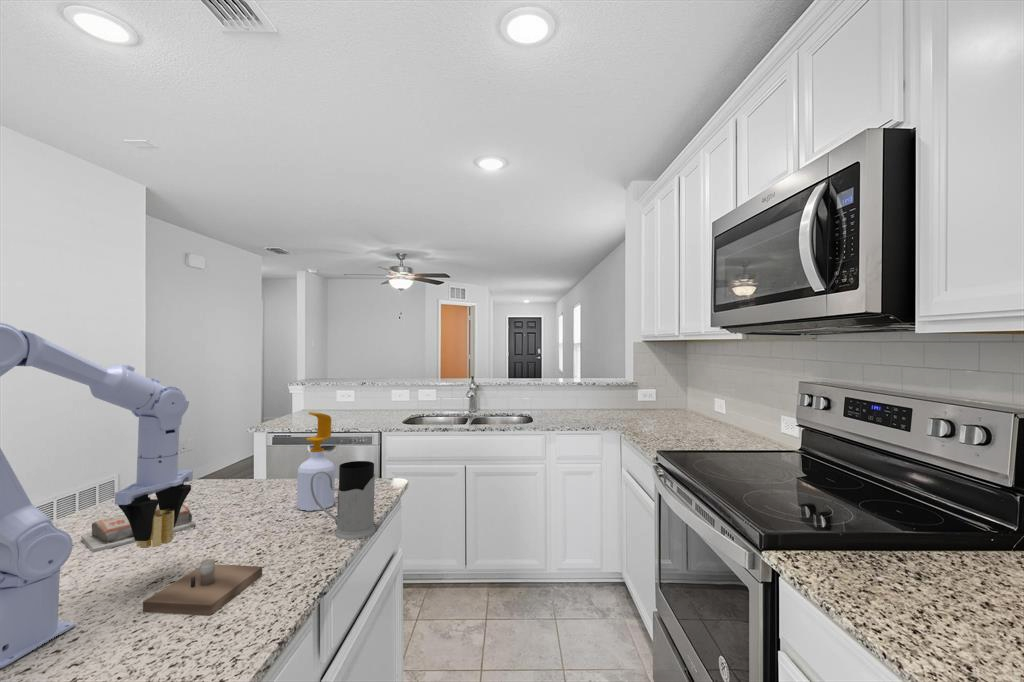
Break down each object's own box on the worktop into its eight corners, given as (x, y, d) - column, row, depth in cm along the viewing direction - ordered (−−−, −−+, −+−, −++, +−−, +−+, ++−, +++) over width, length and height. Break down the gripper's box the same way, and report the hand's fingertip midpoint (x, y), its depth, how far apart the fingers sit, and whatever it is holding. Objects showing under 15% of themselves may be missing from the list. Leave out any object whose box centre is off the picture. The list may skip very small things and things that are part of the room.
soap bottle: (288, 509, 119) (291, 413, 120) (313, 499, 128) (315, 409, 128) (317, 513, 116) (320, 414, 117) (341, 502, 125) (343, 410, 126)
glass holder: (372, 538, 101) (374, 468, 102) (303, 541, 99) (305, 470, 100) (378, 523, 110) (379, 459, 110) (314, 526, 108) (316, 461, 108)
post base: (210, 615, 71) (211, 581, 71) (142, 611, 72) (143, 578, 72) (262, 575, 84) (262, 546, 84) (204, 572, 85) (204, 544, 85)
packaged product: (180, 498, 113) (196, 507, 107) (179, 519, 113) (196, 528, 107) (80, 519, 98) (93, 530, 92) (79, 542, 98) (92, 555, 92)
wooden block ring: (157, 548, 78) (158, 518, 78) (130, 547, 78) (131, 517, 79) (180, 536, 83) (181, 508, 83) (154, 536, 83) (155, 507, 84)
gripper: (146, 465, 74) (143, 552, 73) (209, 447, 88) (206, 519, 88) (103, 464, 74) (100, 550, 74) (173, 446, 89) (170, 518, 88)
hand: (155, 533), depth 81 cm, fingers closed on wooden block ring, 5 cm apart
